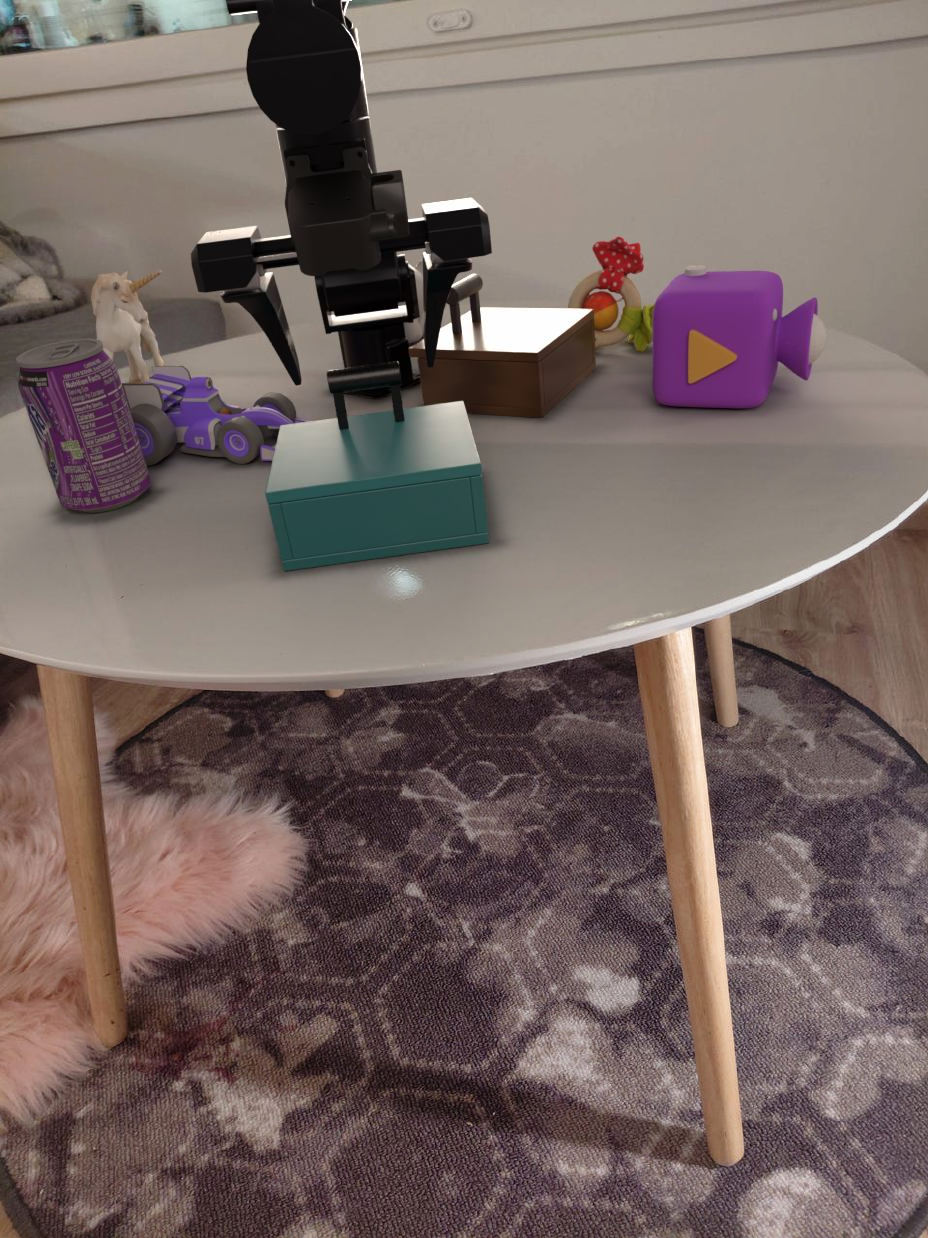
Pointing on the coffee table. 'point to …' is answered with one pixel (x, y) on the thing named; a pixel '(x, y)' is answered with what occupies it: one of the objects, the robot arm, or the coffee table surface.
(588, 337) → the box
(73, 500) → the beverage can
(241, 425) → the toy race car
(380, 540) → the teal box
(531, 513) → the coffee table surface
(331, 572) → the coffee table surface
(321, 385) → the coffee table surface
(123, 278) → the unicorn figurine
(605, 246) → the bird rattle
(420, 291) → the toy rhinoceros
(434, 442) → the lid
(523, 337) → the lid
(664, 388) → the toy camera
